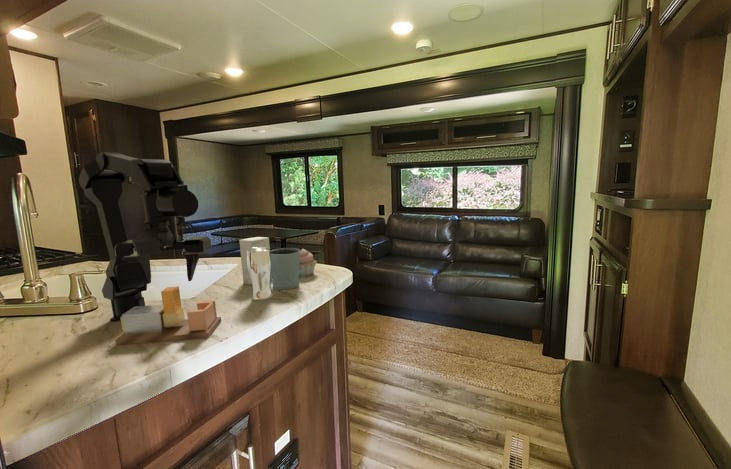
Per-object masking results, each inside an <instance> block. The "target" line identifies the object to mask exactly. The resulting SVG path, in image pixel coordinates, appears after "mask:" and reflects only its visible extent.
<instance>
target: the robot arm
mask: <svg viewBox="0 0 731 469" xmlns="http://www.w3.org/2000/svg"><path fill="white" fill-rule="evenodd" d="M127 176H130V177H131V181H132V182H134V183H136V184H138V186H140V187H141V188H142V189H140V190H139V192H138V193H137V194H138V196H140V197H142V201H143V208H144V214H145V215H144V216H145V221H143V223H142V231H141V232H139V233H138V234H137V235H136V236H135V237H134V238H133V239H129V237H128V233H127V229H126V225H125V221H124V218H123V214H122V210H121V206H120V200H121V198H122V195H123V193H124V188H123V187H124V184H125V182H126V181H127V179H128V177H127ZM78 182H79V185H80V187H81V189H82V190H83V193H84V195H85V197H86V198H87V199H88V200H90V202H91V203H92V204H93V205H95V206H96V209H97V214H98V217H99V221H100V225H101V229H102V233H103V236H104V240H105V245H106V248H107V251H108V252H107V253H108V255H109V263H108V265H107V267H106V269H105V275H106V278H105V281H104V284H103V287H102V289H101V293H102V295H103V296H102V297H103V298H104V299H106V300H107V299H108V300H110V304H111V310H112V315H113V316H112V317H111V318H109V322H113V321H121V319H120V317H122V314H124V313H126V312H127V311H129V310H130V309H132V308H133V307H136V306H146V303H145V297H144V296H143V295H142V292H145V291H147V290H148V285H149V284H151V283H152V271H151V259H150V257H151V256H150V254H151V255H158V254H161V253H162V252H163V251H166V250H167V251H169V250H170V251H171V250H172V251H173V250H184V251H185V252H186V253H184V254H183V257H184V258H185V262H186V276H187V280H188V282H192V281H193V278H194V274H195V271H196V268H197V264H198V262H199V260H200V257H201V255H202V254H204V253H205V252H206V251H207V250H209V249H211V248H212V241H211V238H210V237H209V236H206V235H205V236H192V237H189V238H187V239H185V240H181V238H182V237H181V235H179V234H178V228H177V224H178V223H179V218H189V217H191V216H194V215H195V214H196V213H197V211H198V209H199V199H198V198H197V196H196V194H195V193H194V192H192V191H190V190H188V189H189V188H188V185H187V184H185V182H184V180H183V178H181V176H180V174H179V173H178V171H177V169H176V167H175V166H174V165H173V163H172V162H171V161H170V160H169V159H160V158H159V159H158V158H157V159H156V158H155V159H154V158H153V159H152V158H151V159H149V158H137V157H132V156H129V155H125V154H123V153H120V152H103V151H102V152H99V153H97V155H96V157H95V159H93V160H92V161H91V162H89V163H87V164H86V165H84V166H83V167H82V170H81V172H80V174H79V177H78Z"/></svg>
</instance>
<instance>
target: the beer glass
mask: <svg viewBox="0 0 731 469" xmlns="http://www.w3.org/2000/svg"><path fill="white" fill-rule="evenodd" d="M270 251H271V247H270V248H268V247H256V248H251V249H248V250H247V266H248V271H249V275H250V279H251V282H252V285H251V286H252V297H251V299H252V300H253V301H266V300H270V299H271V298H273V297H274V294H273V290H272V287H271V286H272V285H271V284H272V280H271V270H272V262H271V255H270Z"/></svg>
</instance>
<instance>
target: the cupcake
mask: <svg viewBox="0 0 731 469" xmlns="http://www.w3.org/2000/svg"><path fill="white" fill-rule="evenodd" d="M317 263H318V261H317V260H315V258H314V255H313V253H311V252H309V251H308V250H306V249H304V248H302V249H301V250H300V259H299V278H301V277H302V278H306V277H311V276H313V275H314V272H315V268H316V265H317Z"/></svg>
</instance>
